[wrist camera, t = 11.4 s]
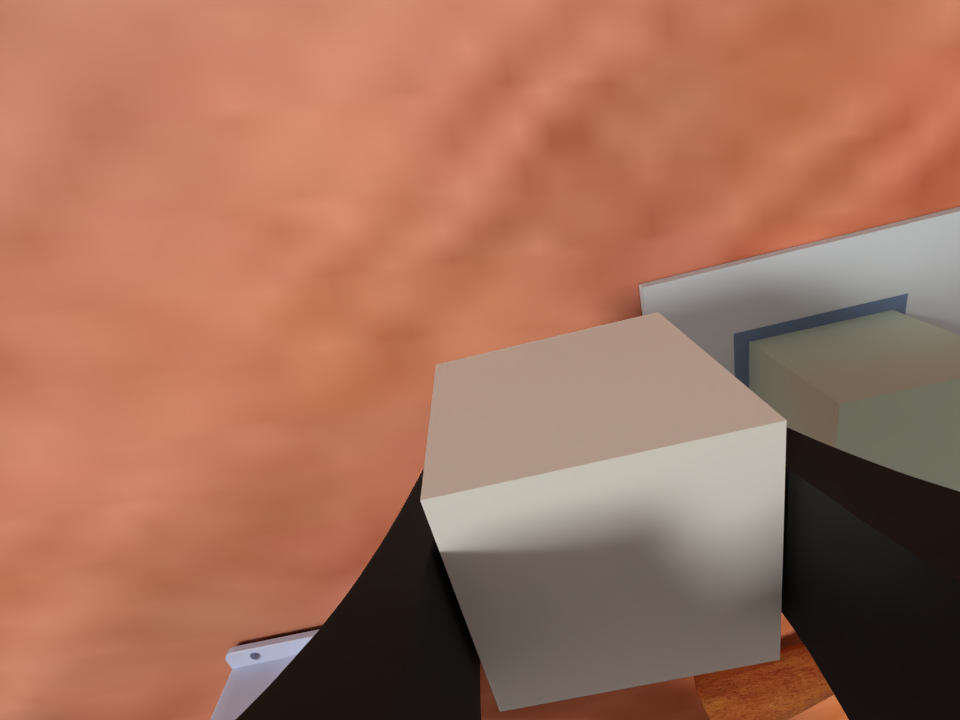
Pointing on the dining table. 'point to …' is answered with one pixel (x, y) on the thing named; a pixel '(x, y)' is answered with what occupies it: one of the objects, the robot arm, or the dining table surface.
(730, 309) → the grey base plate
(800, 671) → the kendama
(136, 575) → the dining table surface
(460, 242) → the dining table surface
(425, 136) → the dining table surface
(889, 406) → the block base
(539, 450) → the block top
